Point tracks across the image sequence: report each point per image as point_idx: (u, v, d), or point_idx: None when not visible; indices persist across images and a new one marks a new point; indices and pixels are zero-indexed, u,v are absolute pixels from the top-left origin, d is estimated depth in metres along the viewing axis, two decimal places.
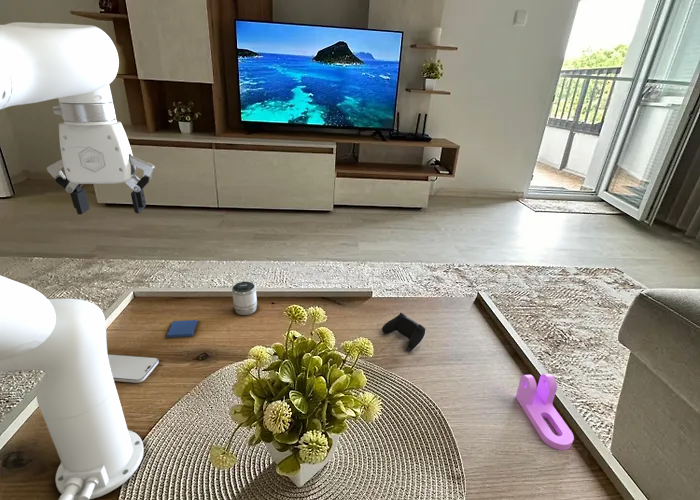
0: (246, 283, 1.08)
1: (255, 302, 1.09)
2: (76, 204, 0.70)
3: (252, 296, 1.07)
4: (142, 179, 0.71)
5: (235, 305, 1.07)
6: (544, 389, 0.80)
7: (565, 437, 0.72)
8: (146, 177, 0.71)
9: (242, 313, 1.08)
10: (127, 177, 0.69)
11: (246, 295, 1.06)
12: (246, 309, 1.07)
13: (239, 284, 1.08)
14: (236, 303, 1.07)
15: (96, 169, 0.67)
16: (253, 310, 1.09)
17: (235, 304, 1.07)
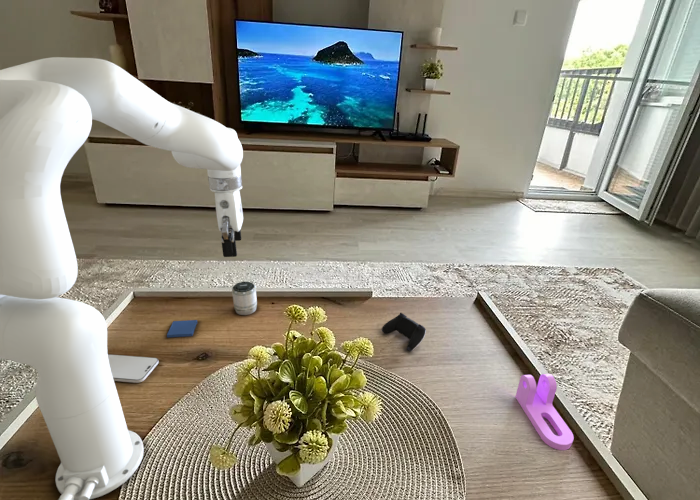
0: (246, 283, 1.08)
1: (255, 302, 1.09)
2: None
3: (252, 296, 1.07)
4: None
5: (235, 305, 1.07)
6: (544, 389, 0.80)
7: (565, 437, 0.72)
8: None
9: (242, 313, 1.08)
10: None
11: (246, 295, 1.06)
12: (246, 309, 1.07)
13: (239, 284, 1.08)
14: (236, 303, 1.07)
15: (241, 216, 0.98)
16: (253, 310, 1.09)
17: (235, 304, 1.07)
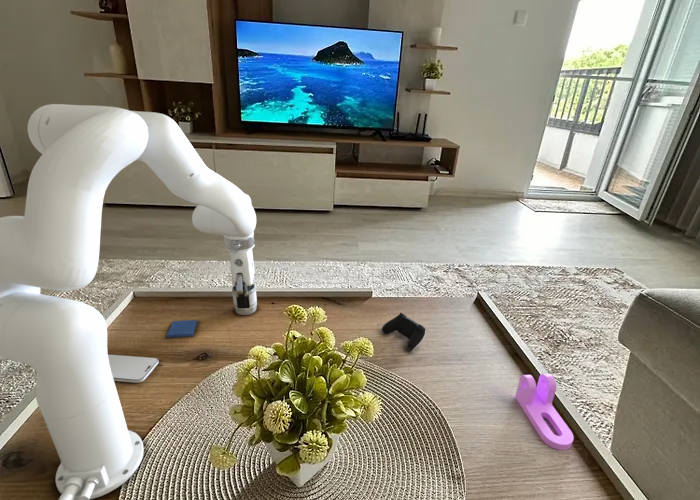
0: None
1: (255, 302, 1.09)
2: None
3: (252, 296, 1.07)
4: None
5: (235, 305, 1.07)
6: (544, 389, 0.80)
7: (565, 437, 0.72)
8: None
9: (242, 313, 1.08)
10: None
11: None
12: (246, 309, 1.07)
13: None
14: (236, 303, 1.07)
15: (253, 270, 1.06)
16: (253, 310, 1.09)
17: (235, 304, 1.07)
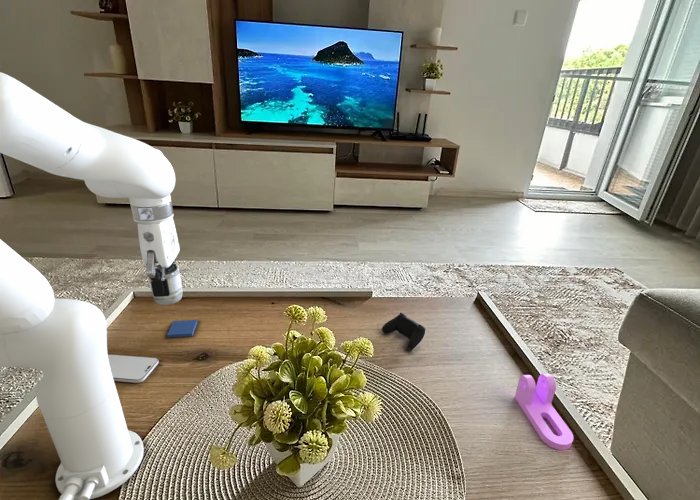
0: None
1: (179, 289, 0.87)
2: (168, 287, 0.84)
3: (172, 280, 0.85)
4: None
5: (152, 292, 0.86)
6: (543, 389, 0.80)
7: (565, 437, 0.73)
8: None
9: (161, 302, 0.86)
10: (178, 246, 0.90)
11: None
12: (166, 297, 0.86)
13: None
14: None
15: (173, 248, 0.85)
16: (176, 299, 0.88)
17: (152, 291, 0.86)
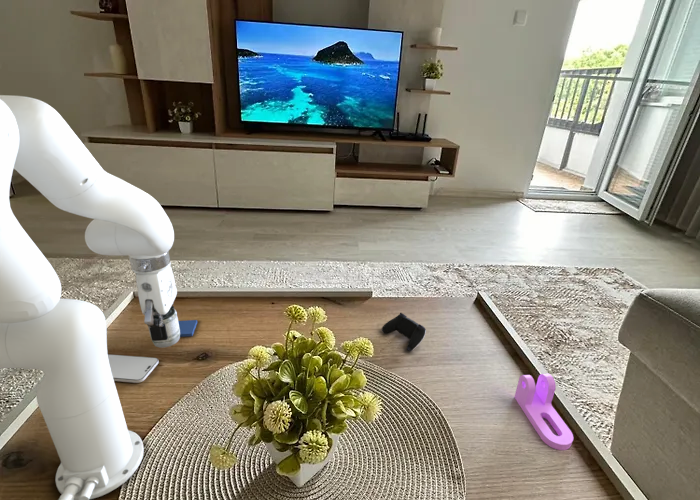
0: None
1: (176, 332, 0.90)
2: (166, 332, 0.87)
3: (170, 325, 0.88)
4: None
5: None
6: (543, 389, 0.80)
7: (565, 437, 0.73)
8: None
9: (159, 345, 0.89)
10: None
11: None
12: (164, 341, 0.88)
13: None
14: None
15: (171, 293, 0.87)
16: (174, 341, 0.90)
17: (150, 335, 0.88)
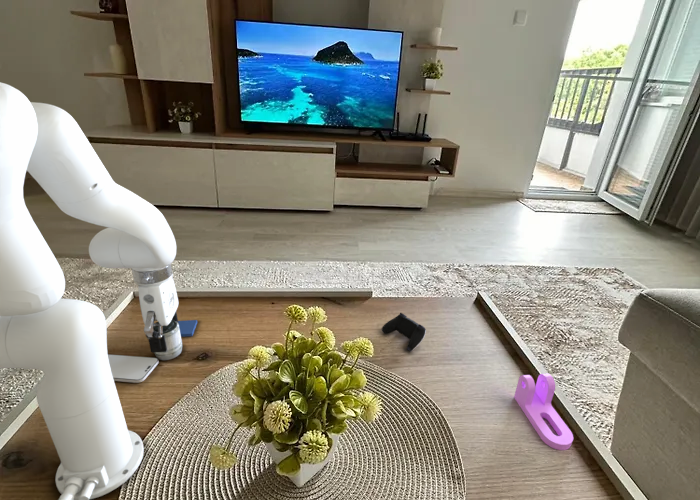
0: None
1: (178, 344, 0.92)
2: (165, 343, 0.86)
3: (172, 338, 0.89)
4: None
5: None
6: (543, 389, 0.80)
7: (565, 437, 0.73)
8: None
9: (162, 358, 0.90)
10: None
11: (165, 338, 0.88)
12: (166, 353, 0.90)
13: None
14: None
15: (173, 305, 0.88)
16: (176, 354, 0.92)
17: None
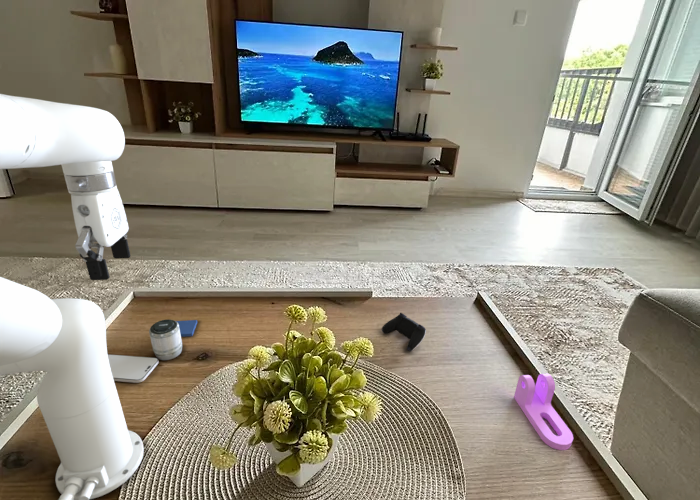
0: (167, 322, 0.91)
1: (178, 344, 0.92)
2: (107, 269, 0.73)
3: (172, 338, 0.89)
4: None
5: (153, 349, 0.90)
6: (542, 389, 0.80)
7: (564, 437, 0.73)
8: None
9: (162, 358, 0.90)
10: (127, 226, 0.80)
11: (165, 338, 0.88)
12: (166, 353, 0.90)
13: (158, 323, 0.90)
14: (154, 347, 0.89)
15: (118, 226, 0.75)
16: (176, 354, 0.92)
17: (153, 347, 0.90)
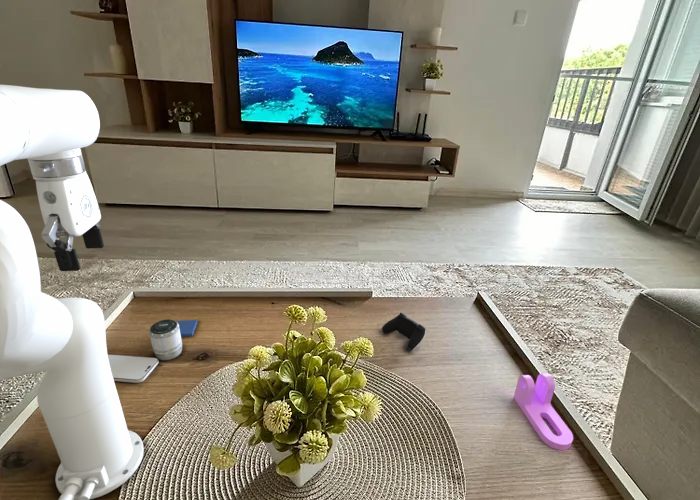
0: (167, 322, 0.91)
1: (178, 344, 0.92)
2: (77, 259, 0.69)
3: (172, 338, 0.89)
4: None
5: (153, 349, 0.90)
6: (542, 389, 0.80)
7: (564, 437, 0.73)
8: None
9: (162, 358, 0.90)
10: (100, 214, 0.76)
11: (165, 338, 0.88)
12: (166, 353, 0.90)
13: (158, 323, 0.90)
14: (154, 347, 0.89)
15: (89, 214, 0.71)
16: (176, 354, 0.92)
17: (153, 347, 0.90)
